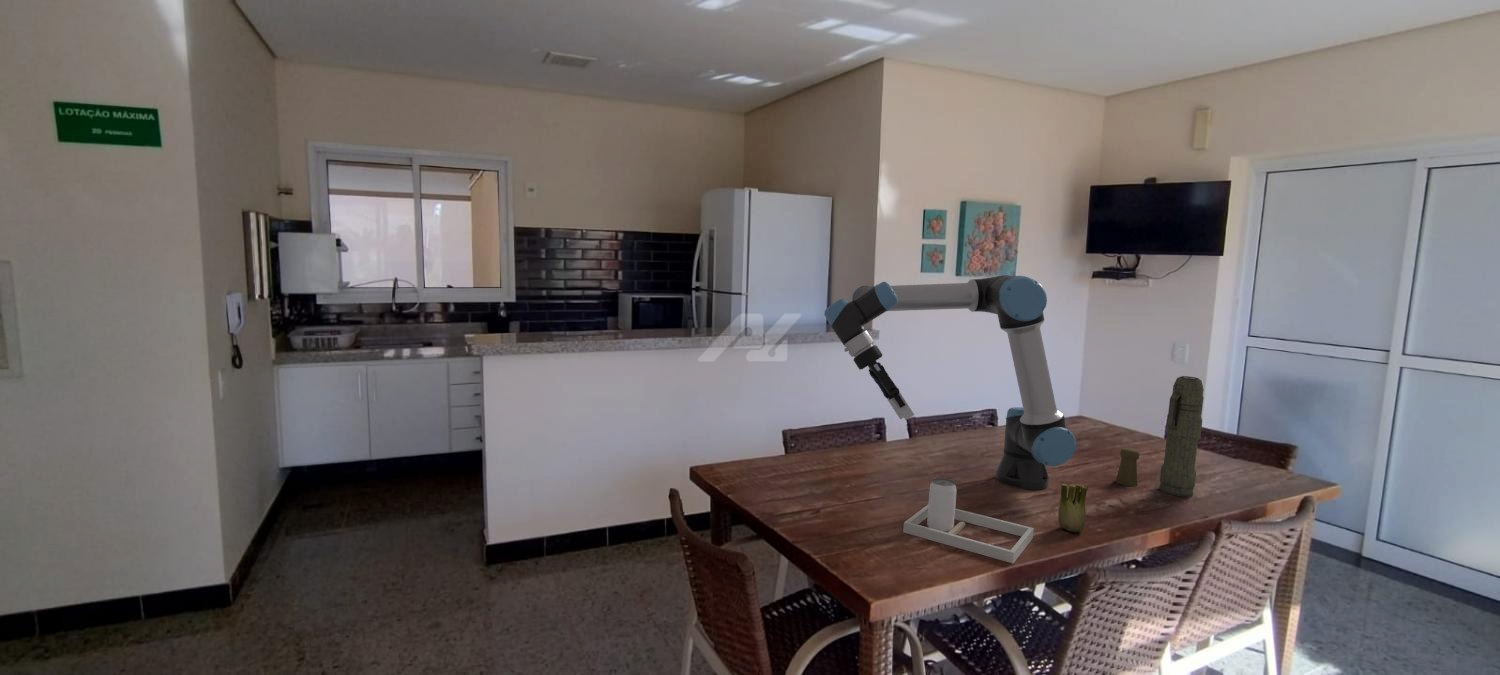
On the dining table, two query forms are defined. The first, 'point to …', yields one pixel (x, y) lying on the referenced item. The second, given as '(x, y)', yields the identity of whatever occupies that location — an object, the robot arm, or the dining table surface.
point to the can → (941, 504)
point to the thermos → (1182, 437)
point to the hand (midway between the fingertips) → (907, 417)
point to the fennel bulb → (1072, 508)
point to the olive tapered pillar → (1128, 467)
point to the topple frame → (969, 544)
